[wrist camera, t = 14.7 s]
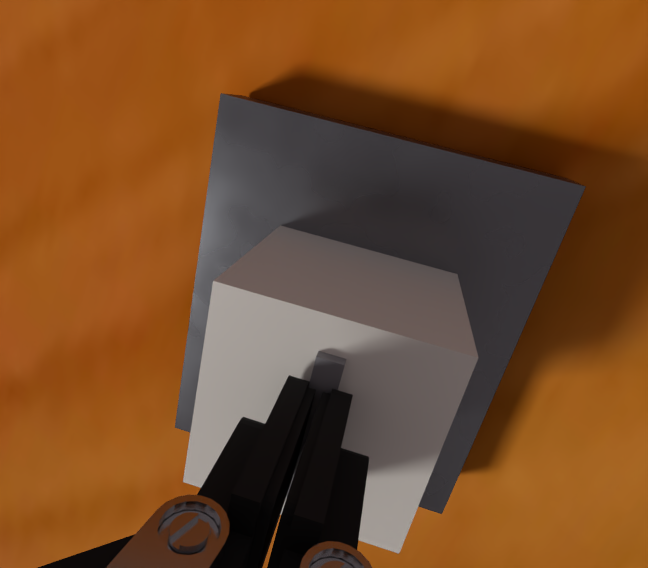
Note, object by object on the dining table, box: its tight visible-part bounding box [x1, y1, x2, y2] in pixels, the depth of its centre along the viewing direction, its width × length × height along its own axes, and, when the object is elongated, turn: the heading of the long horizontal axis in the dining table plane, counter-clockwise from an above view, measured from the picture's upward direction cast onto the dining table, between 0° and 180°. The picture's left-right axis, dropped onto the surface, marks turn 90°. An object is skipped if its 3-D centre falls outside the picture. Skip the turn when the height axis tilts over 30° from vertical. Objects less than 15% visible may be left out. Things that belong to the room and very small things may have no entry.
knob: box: [183, 225, 478, 553], centre depth 15 cm, size 6×6×6 cm
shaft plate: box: [175, 93, 586, 514], centre depth 17 cm, size 14×12×6 cm
